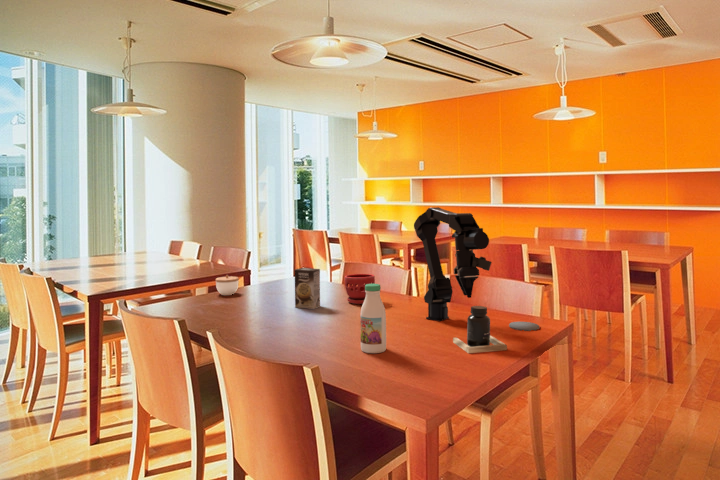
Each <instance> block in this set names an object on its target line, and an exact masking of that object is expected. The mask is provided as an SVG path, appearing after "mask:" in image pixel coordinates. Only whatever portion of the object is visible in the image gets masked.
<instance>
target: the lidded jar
mask: <svg viewBox="0 0 720 480" xmlns="http://www.w3.org/2000/svg"><path fill="white" fill-rule="evenodd" d="M215 287H216V290H217V292H218V293H219V294H220V295H221V296H232V294H233V295H235V293H236V292H237V290H238V288H239V277H238V276H232V275H231V276H229V274H226V275H225V276H220V277H219V276H218V277H217V278H215Z"/></svg>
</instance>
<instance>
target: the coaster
mask: <svg viewBox="0 0 720 480" xmlns="http://www.w3.org/2000/svg"><path fill="white" fill-rule="evenodd" d="M508 327H509V328H510V329H513V330H516V331H522V330H524V331H523V332H532V331H531V330H534V331H537V329H538V330H540V325H539V324H537V323H536V322H535V323H534V322H530V321H512V322H510V323H509V324H508Z"/></svg>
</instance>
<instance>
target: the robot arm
mask: <svg viewBox="0 0 720 480" xmlns="http://www.w3.org/2000/svg"><path fill="white" fill-rule="evenodd" d="M441 222H442V223H445V224H447V225H448V227H449V228H450V229H452V230H453V231H454V232H453V233H452V235H451V238H454V245H455V254H454V255H455V259H456V265H455V267H454V268H453V274H454V277H455V279H456V281H457V283H458V286H459V287H460V290H461V292H462V295H464V296H466V297H467V298H468V299H470V298H472V294H473V290H474V289H473V288H474V282H476V280H477V279H478V278H479V276H480V269H482V270H485V271H490V269H491V266H492V262H493V261H490V260H487V258H486V257H484V256H480V257H476V253H475V252H474V250H484V249H486V248H487V247H488V246H489V243H490V238H489V236H488V234H487V233H486V232H485V231H484V228H483V227H480V226H479V225H478V223H477V221H476V219H475V217H474V215H473V213H472V212H471V213H470V212H469V213H468V212H464V213H463V212H462V213H461V212H460V213H459V212H458V213H457V212H453V211H450V210H446V209H444V208H441V207H440V206H439V207H438V206H437V207H436V206H435V207H429V208H426V210H425V212H423V213H422V214H420V215H419V216H418V217H417V218H416V219H415V221H414V223H413V229H414V231H415V234H416V237H418V238H419V240H420V241H421V242H422V245H423V250H424V255H425V259H426V263H427V264H426V265H427V269H428V273H429V277H430V278H429V280H428V284H427V292H426V293H425V294H424V296H423V298H424V299H423V300H424V303H425V304H427V305H428V307H427V309H428V310H427V313H428V316H426V317H425V319H427V320H431V321H437V322H442V321H445V320H448V319H449V318H450V316H449V307H448V303H451V302H452V297H453V292H454V291H453V287H452V283H451V279H450V277H446V276H445V275H444V272H443V267H442V264H441V263H442V262H441V259H440V253H439V250H438V246H437V241H436V237H437V235H438V227H439V226H440V224H441ZM479 268H480V269H479Z"/></svg>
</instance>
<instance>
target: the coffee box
mask: <svg viewBox="0 0 720 480" xmlns="http://www.w3.org/2000/svg"><path fill="white" fill-rule="evenodd" d="M294 305H295V306H294V307H295V308H300V309H308V310H309V309H310V310H311V309H312V310H314V309H316V308H318V307H321V269H320V268H310V267H309V268H307V267H300V268H296V269H294Z"/></svg>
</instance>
